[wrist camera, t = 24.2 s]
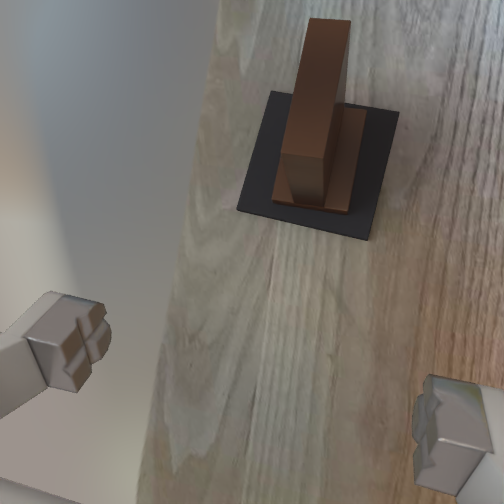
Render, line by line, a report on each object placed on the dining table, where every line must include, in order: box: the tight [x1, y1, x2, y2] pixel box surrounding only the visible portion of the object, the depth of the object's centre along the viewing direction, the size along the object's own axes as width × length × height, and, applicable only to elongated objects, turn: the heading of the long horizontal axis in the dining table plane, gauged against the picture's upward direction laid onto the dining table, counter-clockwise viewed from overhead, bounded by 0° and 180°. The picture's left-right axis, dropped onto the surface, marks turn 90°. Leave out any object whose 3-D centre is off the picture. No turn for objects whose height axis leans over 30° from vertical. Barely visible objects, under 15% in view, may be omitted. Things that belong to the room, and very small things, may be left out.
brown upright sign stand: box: [271, 18, 367, 215], centre depth 24 cm, size 7×5×9 cm
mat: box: [237, 91, 399, 241], centre depth 28 cm, size 9×9×1 cm
